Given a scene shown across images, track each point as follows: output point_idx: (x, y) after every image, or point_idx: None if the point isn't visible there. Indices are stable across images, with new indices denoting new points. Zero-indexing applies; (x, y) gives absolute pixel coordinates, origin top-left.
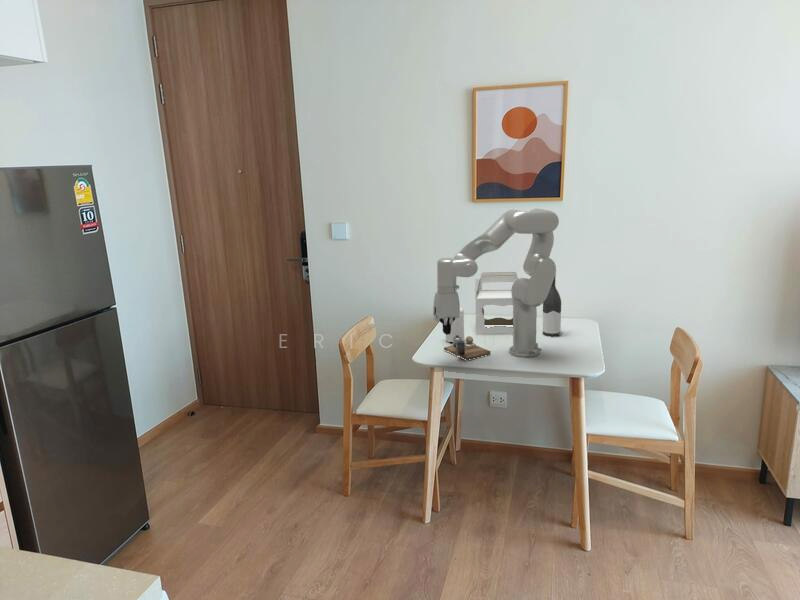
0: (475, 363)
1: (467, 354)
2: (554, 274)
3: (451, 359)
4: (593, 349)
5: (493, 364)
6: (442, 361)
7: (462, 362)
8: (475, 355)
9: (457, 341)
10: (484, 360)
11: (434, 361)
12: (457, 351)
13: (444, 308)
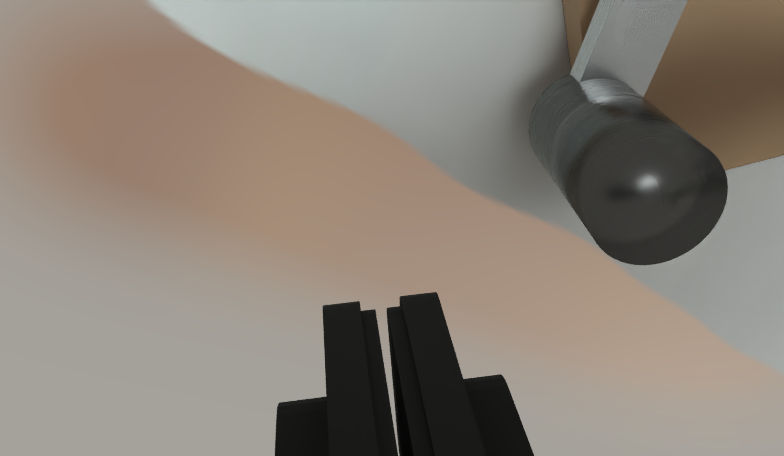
0: (631, 274)
1: (679, 93)
2: None
3: (439, 45)
4: None
5: (768, 353)
6: (294, 69)
7: (518, 197)
8: (746, 163)
9: None
10: (772, 229)
11: (182, 24)
12: (542, 132)
13: None
